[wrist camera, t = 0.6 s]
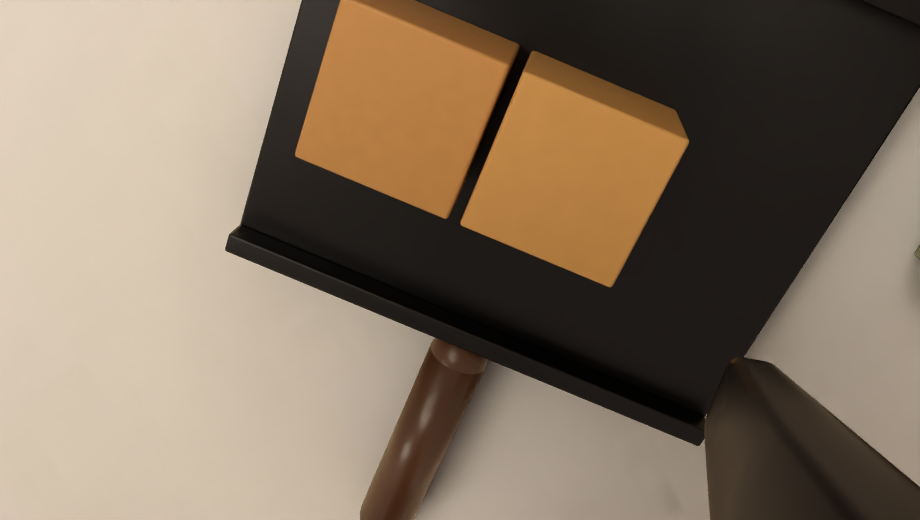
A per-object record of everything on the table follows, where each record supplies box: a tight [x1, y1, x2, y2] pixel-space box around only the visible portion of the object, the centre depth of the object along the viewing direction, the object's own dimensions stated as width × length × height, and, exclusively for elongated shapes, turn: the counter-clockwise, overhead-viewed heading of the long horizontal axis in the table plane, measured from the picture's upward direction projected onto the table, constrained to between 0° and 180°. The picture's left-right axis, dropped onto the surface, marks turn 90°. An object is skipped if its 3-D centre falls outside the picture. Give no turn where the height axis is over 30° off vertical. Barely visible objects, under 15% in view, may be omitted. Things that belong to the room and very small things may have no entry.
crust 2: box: [461, 51, 689, 287], centre depth 19 cm, size 4×4×3 cm
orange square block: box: [295, 0, 520, 219], centre depth 19 cm, size 4×4×3 cm
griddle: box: [225, 0, 920, 520], centre depth 23 cm, size 22×15×2 cm
